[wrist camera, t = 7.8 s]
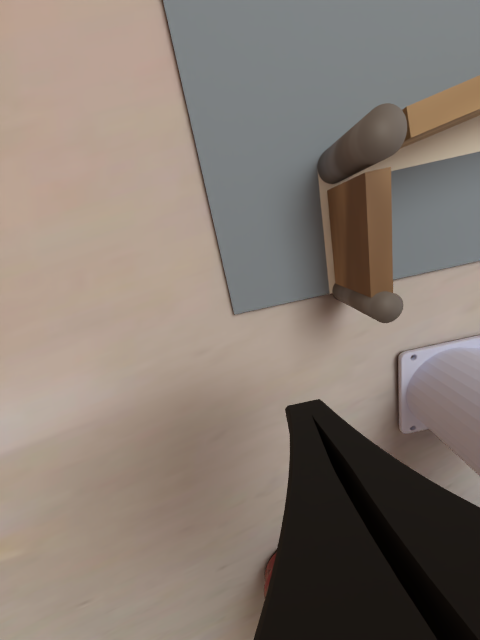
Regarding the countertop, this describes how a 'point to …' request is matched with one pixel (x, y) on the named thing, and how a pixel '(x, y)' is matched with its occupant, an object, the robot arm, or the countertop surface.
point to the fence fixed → (364, 212)
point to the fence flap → (442, 111)
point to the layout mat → (324, 130)
